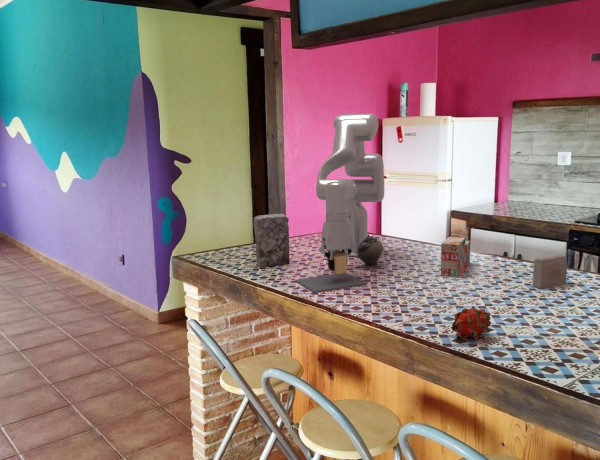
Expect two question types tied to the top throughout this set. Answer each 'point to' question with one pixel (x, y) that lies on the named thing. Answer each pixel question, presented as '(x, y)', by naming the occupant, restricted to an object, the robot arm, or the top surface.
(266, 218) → the stone block
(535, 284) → the taupe upright slab
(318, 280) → the mat
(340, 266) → the block
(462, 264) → the stack of blocks
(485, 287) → the top surface
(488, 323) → the dragon fruit
